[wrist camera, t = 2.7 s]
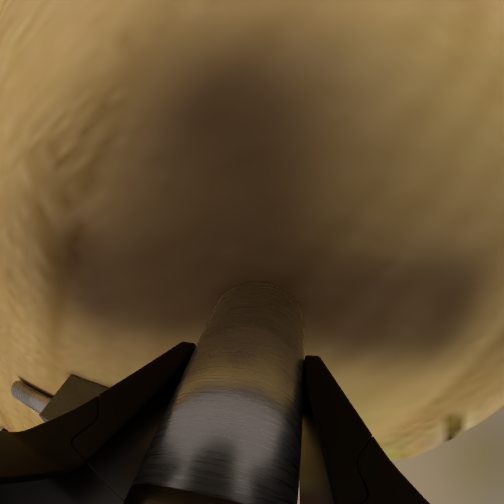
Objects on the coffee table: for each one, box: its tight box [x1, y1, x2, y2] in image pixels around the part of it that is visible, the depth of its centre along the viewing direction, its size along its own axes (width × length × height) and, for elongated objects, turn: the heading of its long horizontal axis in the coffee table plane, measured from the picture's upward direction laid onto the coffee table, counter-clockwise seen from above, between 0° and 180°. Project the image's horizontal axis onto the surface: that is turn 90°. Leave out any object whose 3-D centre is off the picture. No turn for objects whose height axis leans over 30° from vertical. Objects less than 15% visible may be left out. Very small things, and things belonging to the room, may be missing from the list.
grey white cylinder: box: [123, 282, 304, 504], centre depth 6 cm, size 3×3×8 cm
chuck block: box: [11, 375, 109, 422], centre depth 15 cm, size 19×10×4 cm, turn 89°
